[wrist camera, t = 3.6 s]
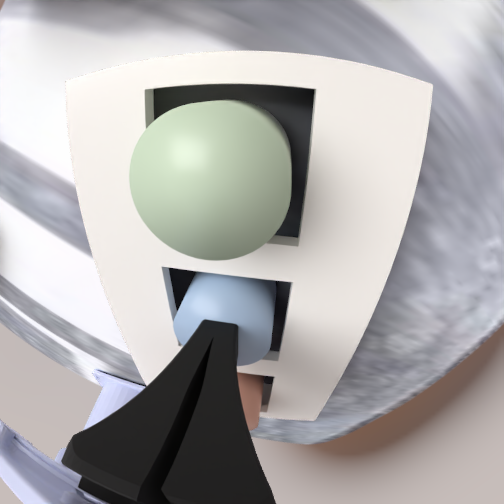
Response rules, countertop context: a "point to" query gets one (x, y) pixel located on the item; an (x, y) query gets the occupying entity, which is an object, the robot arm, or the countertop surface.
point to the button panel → (278, 247)
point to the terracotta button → (251, 396)
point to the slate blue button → (230, 311)
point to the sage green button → (213, 178)
